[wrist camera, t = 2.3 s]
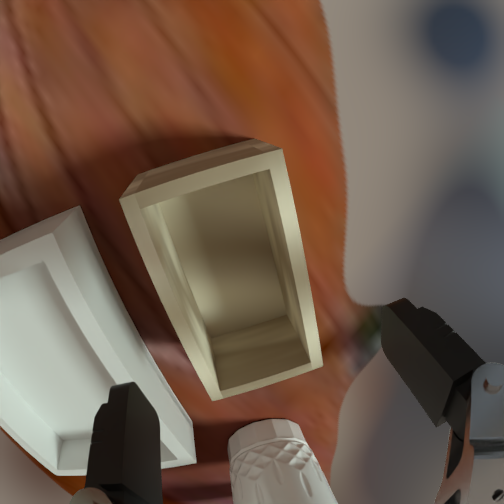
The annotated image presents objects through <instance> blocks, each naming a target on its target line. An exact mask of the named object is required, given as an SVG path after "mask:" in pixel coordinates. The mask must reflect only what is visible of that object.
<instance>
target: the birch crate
mask: <svg viewBox="0 0 504 504" xmlns="http://www.w3.org/2000/svg"><path fill="white" fill-rule="evenodd" d="M119 201H120V204H121V206H122V209H123V211H124V214H125V217H126V219H127V222H128V224H129V227H130V229H131V232H132V234H133V237H134V239H135V242H136V244H137V247H138V249H139V252H140V254H141V256H142V259H143V261H144V263H145V266H146V268H147V270H148V273H149V275H150V277H151V279H152V282H153V284H154V286H155V288H156V291H157V293H158V295H159V297H160V299H161V302H162V304H163V306H164V308H165V310H166V312H167V314H168V316H169V319H170V321H171V323H172V325H173V327H174V329H175V331H176V333H177V335H178V337H179V339H180V341H181V343H182V345H183V347H184V349H185V351H186V353H187V355H188V357H189V359H190V361H191V362H192V364H193V366H194V368H195V370H196V372H197V374H198V376H199V378H200V379H201V381H202V383H203V385H204V387H205V389H206V390H207V392H208V394H209V396H210V398H211V399H212V401H215V400H219V399H222V398H226V397H230V396H233V395H237V394H240V393H244V392H247V391H250V390H254V389H257V388H260V387H263V386H267V385H270V384H273V383H276V382H279V381H282V380H285V379H288V378H291V377H294V376H297V375H299V374H302V373H305V372H308V371H311V370H313V369H316V368H319V367H321V366H323V362H322V355H321V349H320V342H319V336H318V330H317V324H316V318H315V312H314V306H313V300H312V294H311V288H310V283H309V277H308V272H307V266H306V261H305V256H304V250H303V245H302V240H301V235H300V230H299V225H298V220H297V215H296V210H295V205H294V201H293V196H292V191H291V187H290V182H289V177H288V173H287V168H286V164H285V159H284V155H283V151H282V148H279V147H276V146H274V145H271V144H268V143H266V142H263V141H260V140H257V139H251V140H247V141H243V142H240V143H236V144H232V145H229V146H225V147H222V148H218V149H215V150H212V151H208V152H205V153H202V154H198V155H195V156H192V157H189V158H185V159H182V160H179V161H176V162H173V163H170V164H167V165H164V166H161V167H158V168H155V169H152V170H149V171H147V172H144V173H141V174H138V175H137V176H136V177H135V179H134V180H133V181H132V183H131V184H130V185H129V186H128V188H127V189H126V190H125V192H124V193H123V194H122V196H121V197H120V198H119Z"/></svg>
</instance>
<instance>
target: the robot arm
mask: <svg viewBox="0 0 504 504" xmlns="http://www.w3.org/2000/svg"><path fill="white" fill-rule="evenodd" d="M381 344H382V348H383V351H384V353H385V355H386V357H387V358H388V360H389V361H390V363H391V364H392V365H393V366H394V368H395V369H396V371H397V372H398V373H399V375H400V376H401V378H402V379H403V381H404V382H405V383H406V385H407V386H408V387H409V389H410V390H411V392H412V393H413V395H414V396H415V397H416V399H417V400H418V402H419V403H420V405H421V406H422V407H423V409H424V410H425V412H426V413H427V415H428V416H429V418H430V419H431V420H432V422H433V423H434V425H435V426H436V427H438V426H440V425H441V424H443V423H445V422H446V421H447V422H448V423H449V425H450V426H451V428H450V432H449V440H448V448H447V455H446V461H445V467H444V473H443V479H442V483H441V486H440V489H439V491H438V493H437V496H436V499H435V502H434V504H504V365H501V364H498V363H485V362H484V361H483V360H482V359H481V358H480V357H479V356H478V355H477V353H476V352H475V351H474V350H473V349H472V348H471V347H470V346H469V345H468V344H467V343H466V342H465V341H464V340H463V339H462V338H461V337H460V336H459V335H458V334H457V333H454V330H453V329H452V328H451V327H450V326H449V325H447V324H446V322H445V321H444V320H443V319H442V318H441V317H440V316H439V315H438V314H437V313H435V312H433V311H431V310H428V309H426V308H424V307H421V308H418V309H417V308H416V307H415V306H414V305H413V304H412V303H411V302H410V301H409V300H408V299H406V298H402V299H399V300H397V301H394V302H392V303H390V304H387V305H385V306H383V308H382V328H381ZM92 431H93V433H92V436H91V444H90V450H89V457H88V465H87V474H86V483H85V488H84V489H81V490H80V491H78V492H77V493H76V494H75V495H74V496H73V497H72V499H71V501H70V504H163V499H162V480H161V448H160V421H159V418H158V415H157V412H156V410H155V409H154V407H153V406H152V405H151V403H150V402H149V400H148V399H147V398H146V396H145V395H144V394H143V392H142V391H141V389H140V388H139V386H138V385H137V384H136V383H135V382H128V383H123V384H118V385H113V386H111V388H110V391H109V397H108V403H104V404H102V405H101V406H100V408H99V410H98V412H97V413H96V415H95V417H94V423H93V430H92Z"/></svg>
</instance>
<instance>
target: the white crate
mask: <svg viewBox="0 0 504 504" xmlns="http://www.w3.org/2000/svg"><path fill="white" fill-rule="evenodd" d="M128 382H135V383H136V384H137V385H138V386H139V388H140V389H141V391H142V392H143V394H144V395H145V396H146V398H147V399H148V400H149V402H150V403H151V405H152V406H153V407H154V409H155V410H156V412H157V415H158V418H159V421H160V448H161V469H163V468H170V467H177V466H183V465H188V464H194V463H197V462H196V453H195V443H194V434H193V423H192V420H191V419H190V417H189V416H188V414H187V413H186V411H185V410H184V408H183V407H182V405H181V404H180V402H179V401H178V399H177V397H176V396H175V394H174V393H173V391H172V390H171V388H170V386H169V385H168V383H167V381H166V380H165V378H164V376H163V375H162V373H161V371H160V370H159V368H158V366H157V365H156V363H155V361H154V360H153V358H152V356H151V354H150V353H149V351H148V349H147V347H146V345H145V344H144V342H143V340H142V338H141V336H140V335H139V333H138V331H137V329H136V327H135V325H134V323H133V322H132V320H131V318H130V316H129V314H128V312H127V310H126V308H125V306H124V304H123V302H122V300H121V298H120V296H119V294H118V292H117V290H116V288H115V286H114V284H113V281H112V279H111V277H110V275H109V273H108V271H107V269H106V266H105V264H104V262H103V260H102V257H101V255H100V253H99V251H98V248H97V246H96V244H95V241H94V239H93V237H92V234H91V232H90V229H89V227H88V224H87V222H86V219H85V217H84V214H83V212H82V209H81V207H80V205H79V206H76V207H74V208H71V209H69V210H67V211H64V212H62V213H59V214H57V215H55V216H52V217H50V218H48V219H45V220H43V221H41V222H38V223H36V224H34V225H32V226H29V227H27V228H25V229H23V230H21V231H18V232H16V233H14V234H12V235H10V236H8V237H6V238H3V239H1V240H0V426H1V427H2V428H3V429H4V430H5V431H6V432H7V433H8V434H9V435H10V436H11V437H12V438H13V439H14V440H15V441H17V442H18V443H19V444H20V445H21V446H22V447H23V448H24V449H25V450H26V451H27V452H29V453H30V454H31V455H32V456H33V457H34V458H35V459H37V460H38V461H39V462H40V463H41V464H43V465H44V466H45V467H46V468H47V469H49V470H50V471H51V472H52V473H54V474H55V475H61V476H72V475H86V474H87V465H88V457H89V450H90V444H91V436H92V433H93V431H92V430H93V423H94V417H95V415H96V413H97V412H98V410H99V408H100V406H101V405H102V404H104V403H108V397H109V391H110V388H111V386H113V385H118V384H123V383H128Z"/></svg>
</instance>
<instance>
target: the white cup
mask: <svg viewBox="0 0 504 504" xmlns="http://www.w3.org/2000/svg"><path fill="white" fill-rule="evenodd" d="M228 456H229V463H230V479H231V487H232V496H233V504H338V503H337V501H336V499H335V497H334V495H333V493H332V491H331V489H330V486H329V484H328V482H327V480H326V477H325V475H324V474H323V472H322V470H321V468H320V466H319V463H318V461H317V460H316V458H315V456H314V454H313V451H312V450H311V449H310V448H309V446H308V444H307V443H306V440H305V438H304V436H303V434H302V432H301V429H300V427H299V425H298V424H296V423H294V422H292V421H290V420H287V419H267V420H263V421H258V422H254V423H251V424H249V425H247V426H245V427H243V428H241V429H239V430H237V431H236V432H235V433H234V434H233V435H232V436H231V437H230V438H229V441H228Z"/></svg>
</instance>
